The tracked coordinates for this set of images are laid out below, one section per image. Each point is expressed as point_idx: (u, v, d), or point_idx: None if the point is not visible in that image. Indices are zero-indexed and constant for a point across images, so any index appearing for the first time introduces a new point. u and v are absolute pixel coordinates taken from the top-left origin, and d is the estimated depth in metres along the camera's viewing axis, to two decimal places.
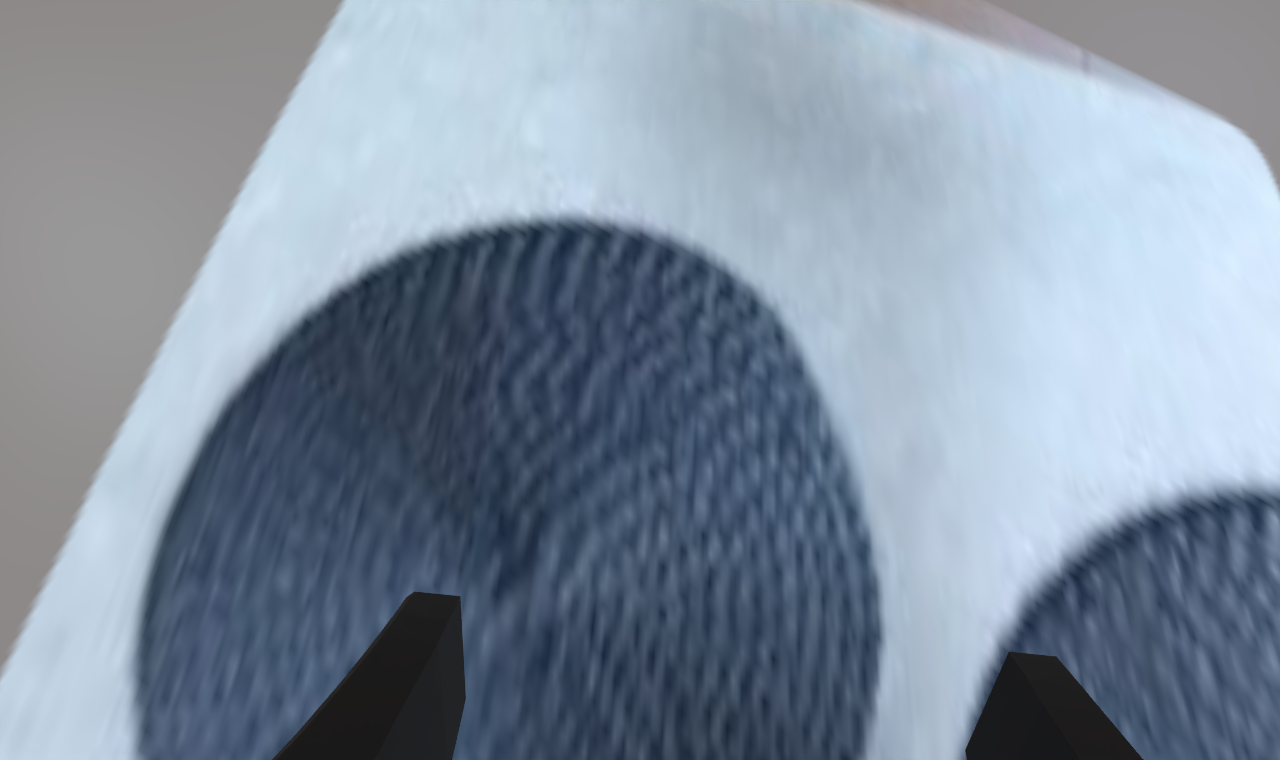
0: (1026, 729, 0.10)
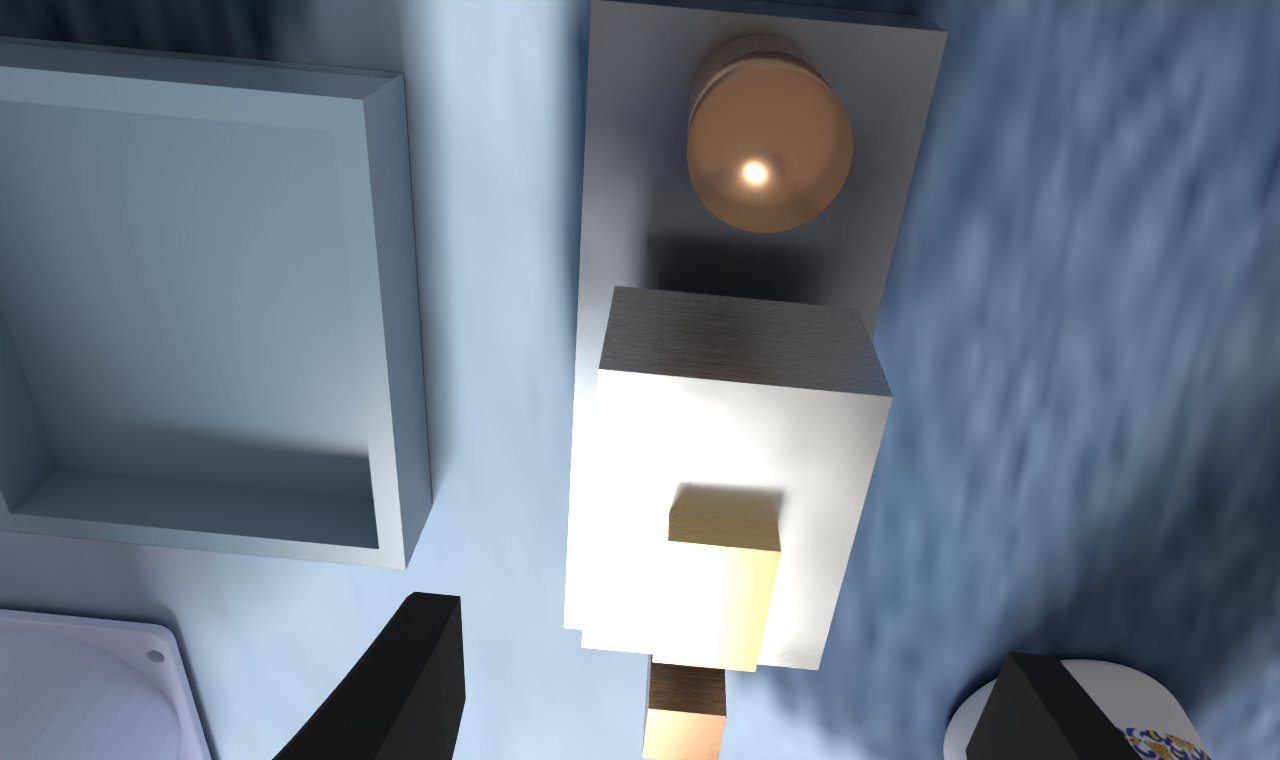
0: (1026, 729, 0.10)
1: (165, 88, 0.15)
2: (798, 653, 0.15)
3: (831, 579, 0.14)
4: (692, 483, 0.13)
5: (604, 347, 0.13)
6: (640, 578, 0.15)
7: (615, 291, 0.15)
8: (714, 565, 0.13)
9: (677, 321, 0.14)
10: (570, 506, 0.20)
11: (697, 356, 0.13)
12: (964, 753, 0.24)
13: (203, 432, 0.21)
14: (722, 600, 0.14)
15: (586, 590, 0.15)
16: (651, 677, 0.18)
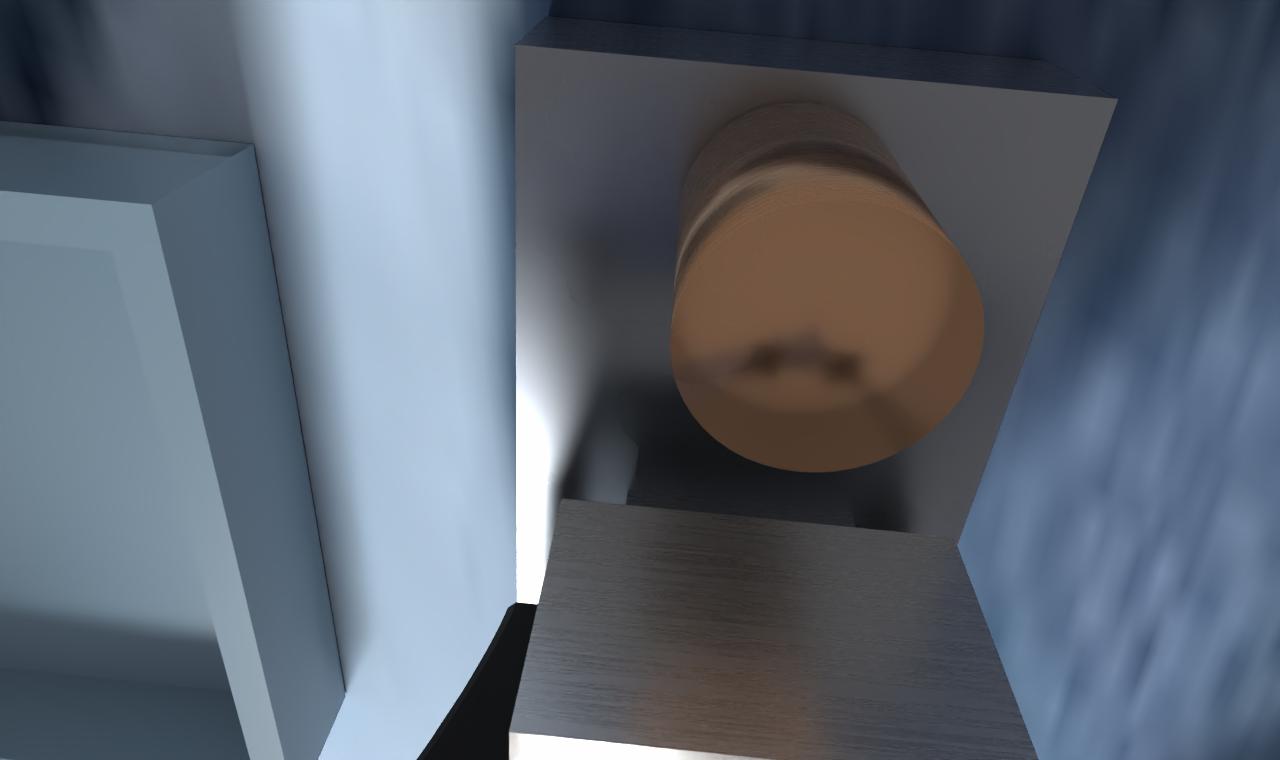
0: None
1: None
2: None
3: None
4: None
5: (527, 665, 0.07)
6: None
7: (561, 512, 0.09)
8: None
9: (659, 584, 0.08)
10: None
11: (690, 681, 0.07)
12: None
13: (25, 613, 0.15)
14: None
15: None
16: None
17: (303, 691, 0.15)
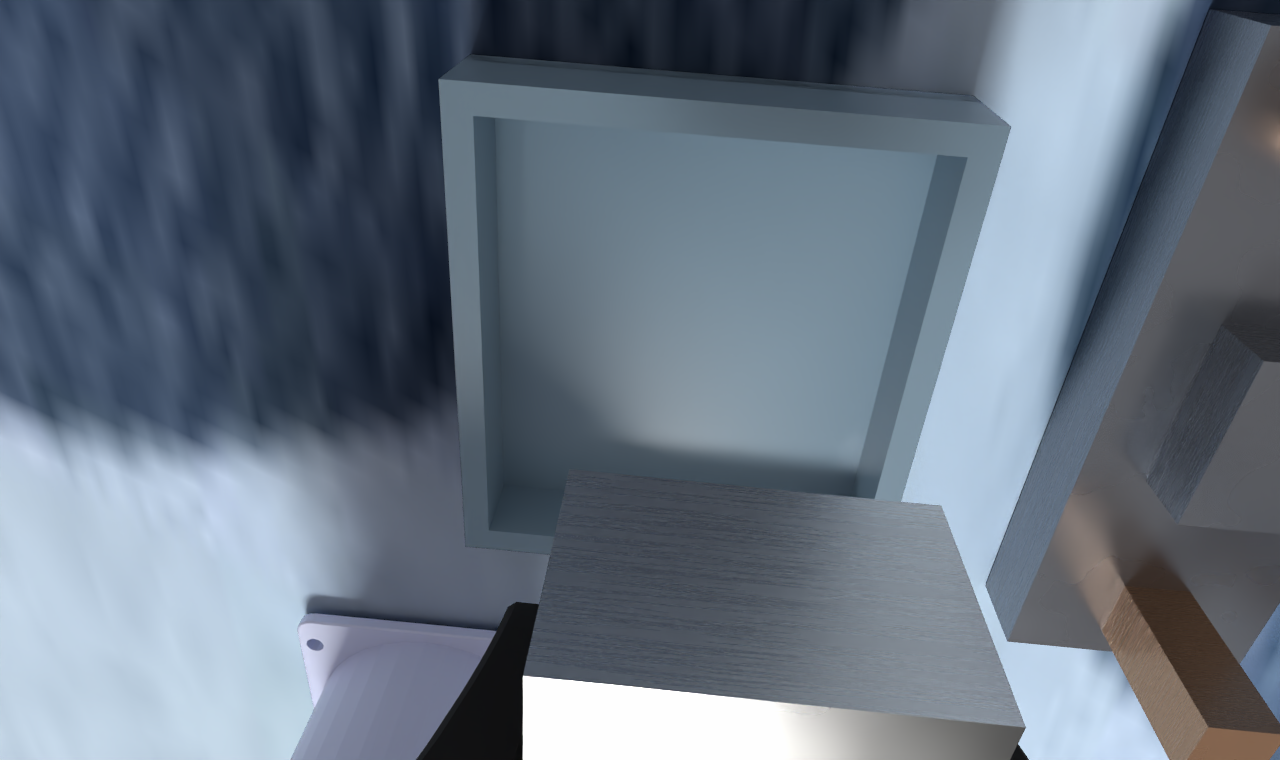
0: None
1: (810, 117, 0.15)
2: None
3: None
4: None
5: (539, 617, 0.08)
6: None
7: (569, 481, 0.10)
8: None
9: (662, 547, 0.09)
10: (1060, 523, 0.20)
11: (692, 631, 0.08)
12: None
13: (664, 449, 0.21)
14: None
15: None
16: (1190, 695, 0.18)
17: None
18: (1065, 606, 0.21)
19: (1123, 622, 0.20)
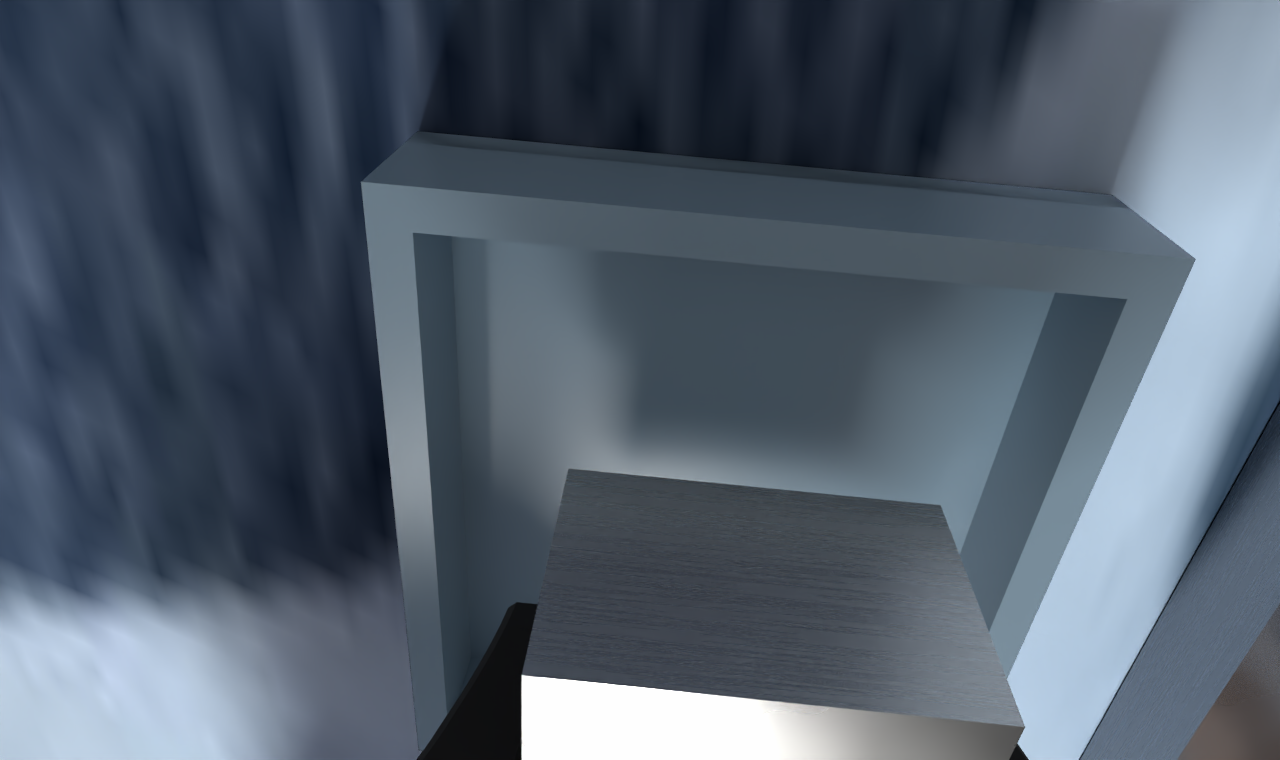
0: None
1: (902, 241, 0.10)
2: None
3: None
4: None
5: (538, 616, 0.08)
6: None
7: (568, 480, 0.10)
8: None
9: (661, 546, 0.09)
10: (1195, 736, 0.15)
11: (691, 630, 0.08)
12: None
13: None
14: None
15: None
16: None
17: None
18: None
19: None
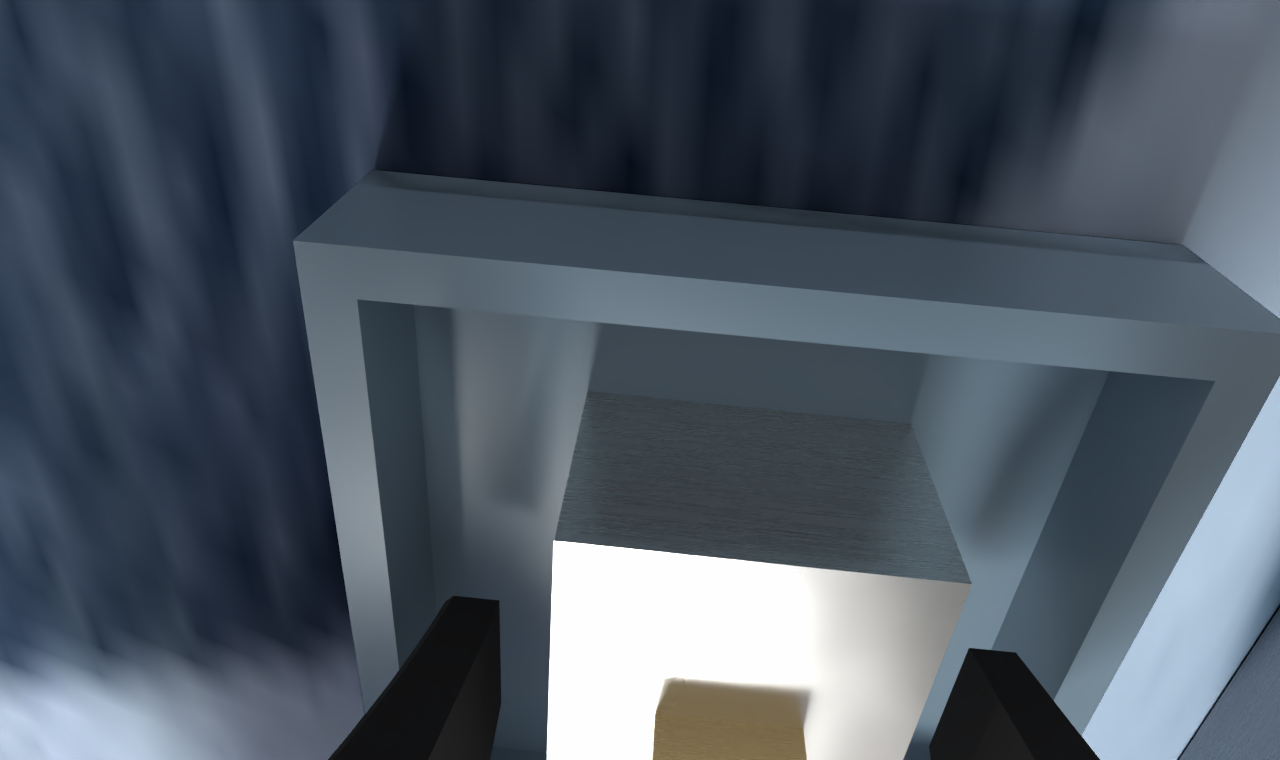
0: (983, 725, 0.10)
1: (945, 312, 0.08)
2: None
3: None
4: (686, 680, 0.10)
5: (565, 499, 0.09)
6: None
7: (587, 400, 0.11)
8: None
9: (668, 450, 0.10)
10: None
11: (695, 512, 0.09)
12: None
13: None
14: None
15: None
16: None
17: None
18: None
19: None
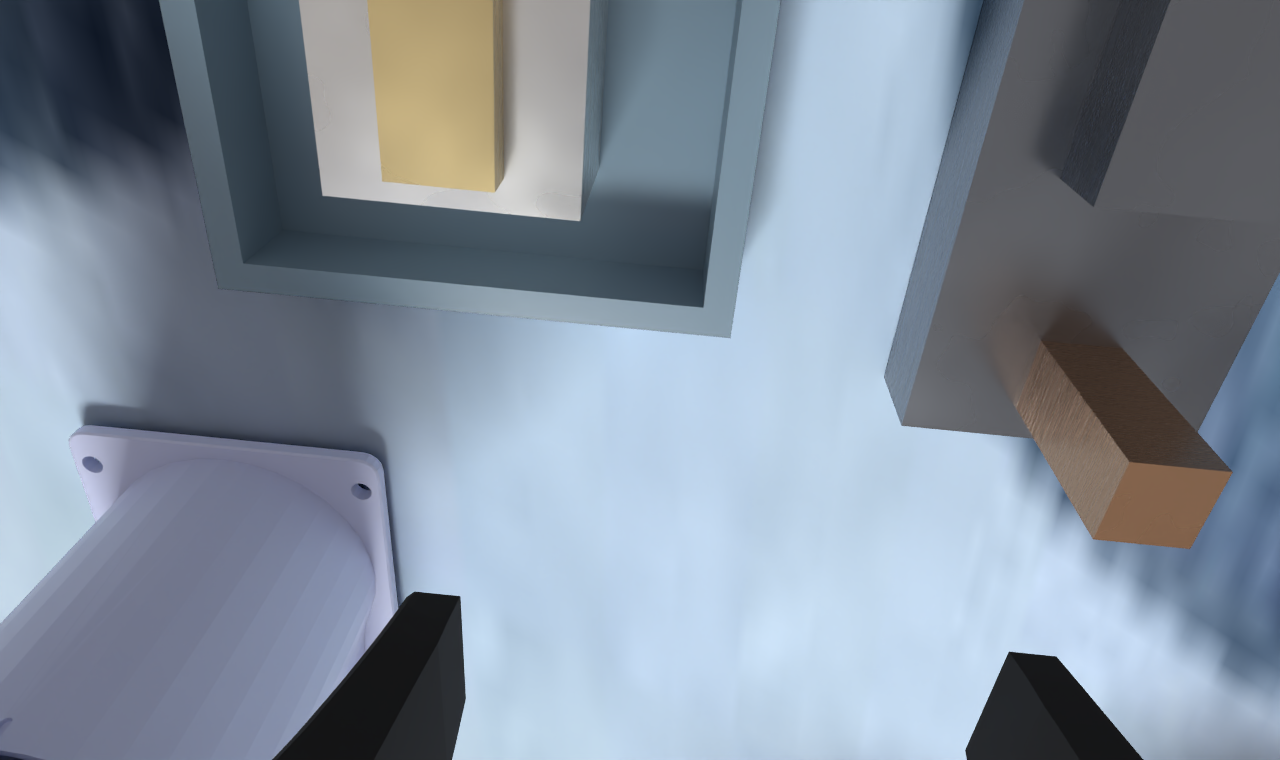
0: (1026, 729, 0.10)
1: None
2: (555, 196, 0.14)
3: (575, 81, 0.13)
4: None
5: None
6: (368, 87, 0.13)
7: None
8: (423, 26, 0.12)
9: None
10: (955, 246, 0.16)
11: None
12: None
13: None
14: (441, 80, 0.12)
15: (313, 108, 0.13)
16: (1110, 433, 0.14)
17: None
18: (969, 372, 0.17)
19: (1038, 385, 0.16)
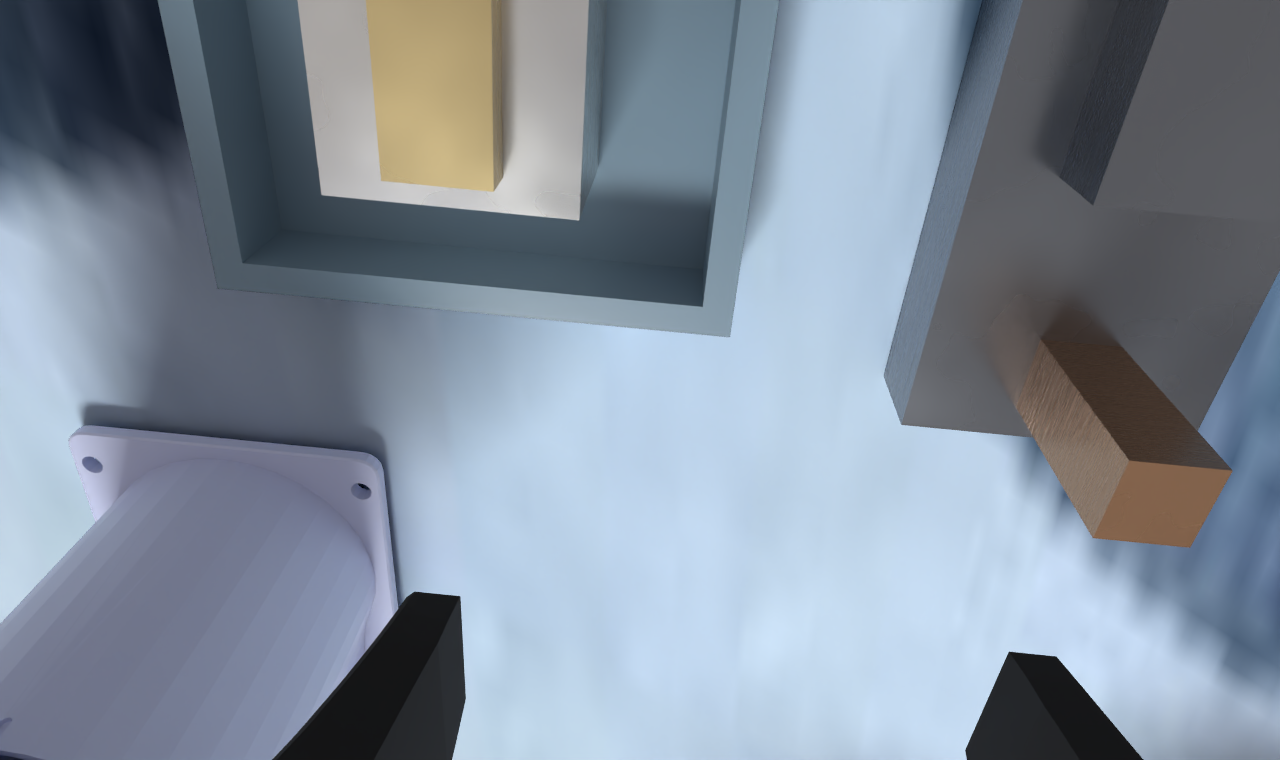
0: (1026, 729, 0.10)
1: None
2: (554, 195, 0.14)
3: (574, 80, 0.13)
4: None
5: None
6: (367, 86, 0.13)
7: None
8: (422, 25, 0.12)
9: None
10: (954, 245, 0.16)
11: None
12: None
13: None
14: (440, 79, 0.12)
15: (312, 108, 0.13)
16: (1109, 432, 0.14)
17: None
18: (969, 371, 0.17)
19: (1038, 383, 0.16)
